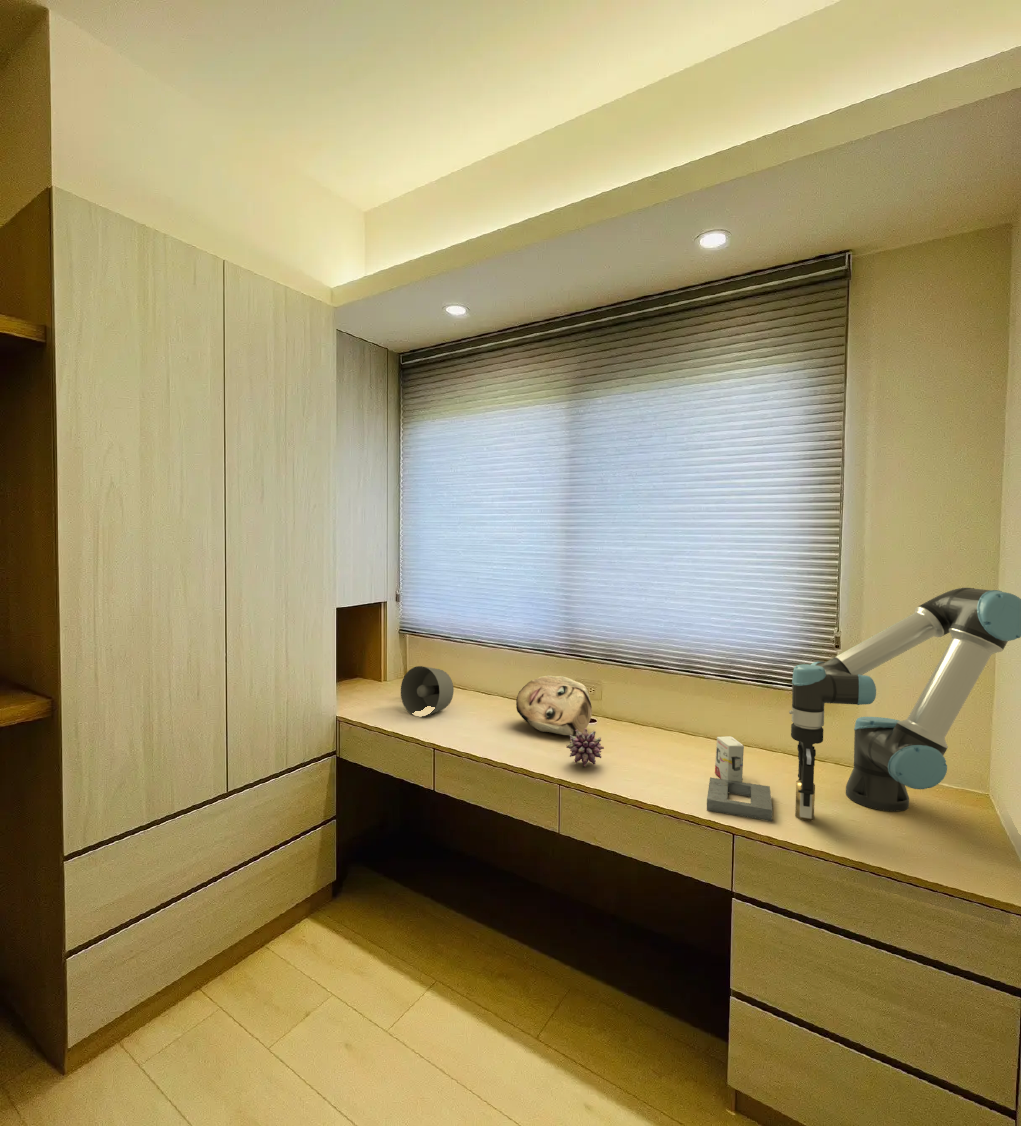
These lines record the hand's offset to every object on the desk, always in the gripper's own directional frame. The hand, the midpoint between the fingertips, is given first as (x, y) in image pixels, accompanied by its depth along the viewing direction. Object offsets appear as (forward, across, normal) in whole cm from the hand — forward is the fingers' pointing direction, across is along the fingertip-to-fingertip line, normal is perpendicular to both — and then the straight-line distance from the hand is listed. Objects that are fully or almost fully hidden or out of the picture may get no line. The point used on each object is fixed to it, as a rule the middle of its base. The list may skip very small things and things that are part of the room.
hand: (804, 812), depth 154 cm
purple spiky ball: (+1, -12, -62) cm, 63 cm away
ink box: (+1, -19, -19) cm, 27 cm away
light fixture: (+1, -50, -138) cm, 147 cm away
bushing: (+1, 0, 0) cm, 1 cm away
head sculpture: (+1, -42, -83) cm, 93 cm away
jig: (+1, -2, -16) cm, 16 cm away
